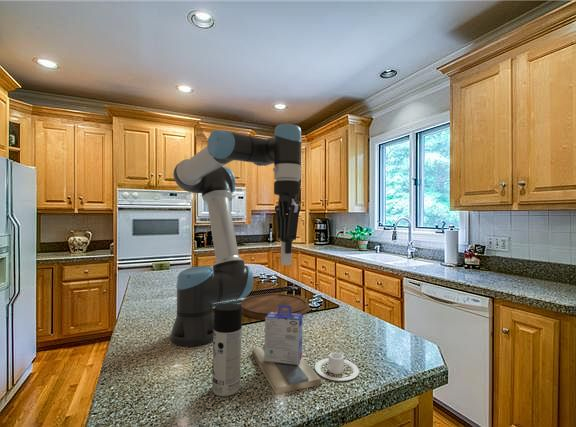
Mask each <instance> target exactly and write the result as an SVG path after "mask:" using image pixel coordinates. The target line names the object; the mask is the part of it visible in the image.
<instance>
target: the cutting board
mask: <svg viewBox="0 0 576 427" xmlns="http://www.w3.org/2000/svg"><path fill="white" fill-rule="evenodd" d="M239 305H241V307H242V316H243V315H244V316H246V317H249V318H252V319H256V320H264V321H265V317H266V316H267V315H268V314H269V313H270V312H278V310H279V305H288V306H292V307H291V313H295V314H302V315H303V316H305V315H306V314H308V313H309V312H308V311H310V310H309V309H311V308H310V305H309V303H308V302H307V301H306V300H305V299H304V298H301V297H299V296H296V295H292V294H291V295H290V294H284V293H263V294H256V295H251V296H249V297H248V296H247V297H245V298H243V299H242V300H241V302H240V303H239ZM281 310H282V311H289V309H288V308H281ZM307 312H308V313H307Z"/></svg>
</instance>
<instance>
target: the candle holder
mask: <svg viewBox="0 0 576 427" xmlns="http://www.w3.org/2000/svg"><path fill="white" fill-rule="evenodd" d="M327 363H328V364H327ZM325 364H327V365H328V372H330V373H331V374H333V375H341V374H343V373H344V371H345V365H347V366H348V367H349V368H351V370H352V373H351V374H350V375H349V376H346V377H337V376H335V377H334V376H332V375H331V376H330V375H327V374H326V373H324V372H323V371H322V366H323V365H325ZM314 371H315V372H316V374H317V375H318V376H321V377H323V378H325V379H328V380H331V381H336V382H345V381H350V380H354V379H355V378H357V377H358V376H359V374H360V369H359V367H358V366H357V365H356V364H355V363H353V362H351V361H349V360H347V359H345V356H344V354H342V353H340V352H331V353H329V354H328V357H326V358H323V359H320V360H318V361H317V362H316V363H315V365H314Z"/></svg>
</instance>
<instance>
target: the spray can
mask: <svg viewBox="0 0 576 427" xmlns="http://www.w3.org/2000/svg"><path fill="white" fill-rule="evenodd" d="M213 309H214V312H213V317H214V327H213V328H214V333H213V341H212V378H211V380H212V383H211V384H212V385H211V389H212V393H213V394H214V395H215V396H217V397H220V398H227V397H229V398H230V397H232V396H234V395H235V394H237V393H238V392H239V391H240V388H241V366H242V365H241V364H242V361H241V360H242V329H243V328H242V326H243V322H242V321H243V319H242V318H243V314H242V307H241V305H240V303H238V304H237V303H221V304H217V305H215V307H214V308H213Z"/></svg>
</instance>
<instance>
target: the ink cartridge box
mask: <svg viewBox="0 0 576 427" xmlns="http://www.w3.org/2000/svg"><path fill="white" fill-rule="evenodd" d="M291 307H292V306H288V305H279V310H278V312H270V313H269V314H268V315H267V316H266V317H265V320H264V344H265V350H264V361H270V362H278V363H286V364H294V365H299V362H300V360H301V358H303V326H304V325H303V324H304V323H303V321H304V320H303V316H304V315H302V314H295V313H291ZM281 308H288V309H289V311H282V310H281Z"/></svg>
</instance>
